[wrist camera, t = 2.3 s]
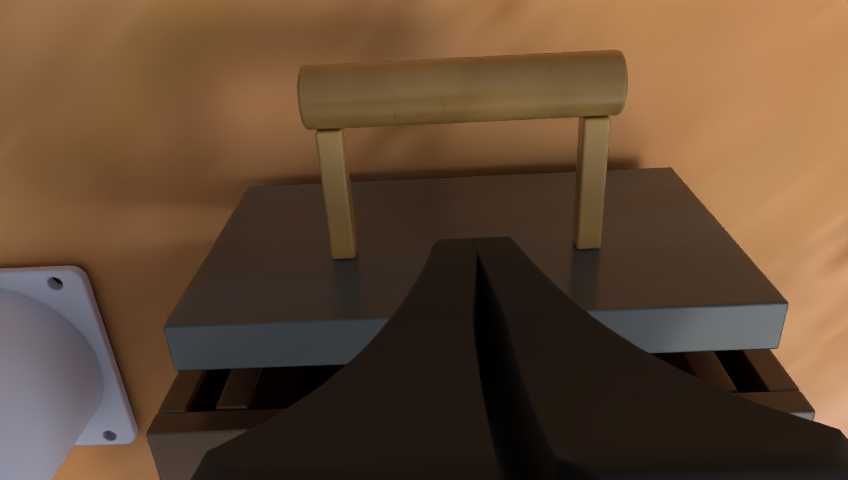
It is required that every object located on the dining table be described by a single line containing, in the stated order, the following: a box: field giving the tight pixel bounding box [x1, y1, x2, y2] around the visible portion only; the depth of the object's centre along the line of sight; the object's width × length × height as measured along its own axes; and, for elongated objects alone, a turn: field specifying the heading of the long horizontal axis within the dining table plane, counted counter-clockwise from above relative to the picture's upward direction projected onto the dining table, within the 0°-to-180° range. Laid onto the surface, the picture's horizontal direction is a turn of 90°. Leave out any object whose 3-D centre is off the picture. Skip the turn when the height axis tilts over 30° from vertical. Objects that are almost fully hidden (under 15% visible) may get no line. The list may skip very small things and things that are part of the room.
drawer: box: [163, 50, 788, 411], centre depth 20 cm, size 18×13×8 cm
